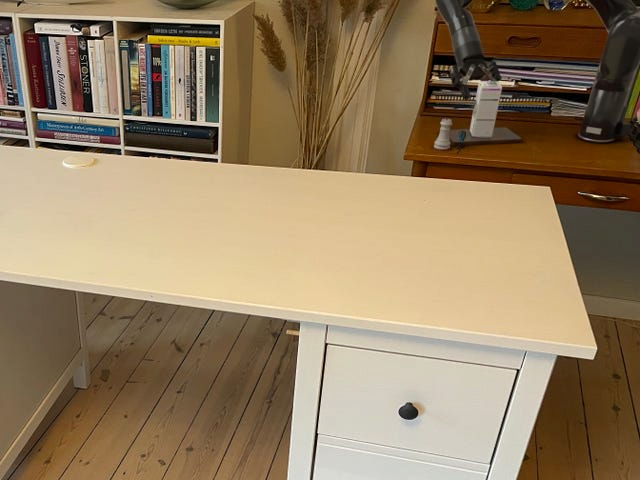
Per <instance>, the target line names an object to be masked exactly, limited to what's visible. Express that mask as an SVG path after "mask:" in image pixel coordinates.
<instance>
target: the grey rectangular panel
mask: <svg viewBox="0 0 640 480" xmlns="http://www.w3.org/2000/svg"><path fill="white" fill-rule="evenodd" d="M461 130H465V132H466V137H465V139H464V141H463V142H458V140H457V139H458V135H459V134H458V133H459V131H461ZM469 130H470V128H462V129H461V128H460V129H450V130H449V141H450V145H452V146H454V147H455V146H470V145H471V146H474V145H475V146H476V145H494V144H495V145H496V144H497V145H498V144H515V143H516V144H519V143H522V142H523V138H522V137H521V136H519V135H518V134H516V133H515V132H513V131H512V130H510V129H509V128H508V127H506V126H502V127H494V129H493V134H492V137H472V136H471V133H470V131H469Z"/></svg>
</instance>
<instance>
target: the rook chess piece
mask: <svg viewBox="0 0 640 480" xmlns="http://www.w3.org/2000/svg"><path fill="white" fill-rule="evenodd" d="M452 121H453V120H452V119H450V118H442V119H441V121H440V123H439V124H440V128H439V129H440V130H439V134H438V137H437V138H436V140H435V141H434V144H433V148H434V149H435V150H438V151H447V150H449V149H450V148H451V146H450V145H451V143H450V141H449V130H451V126H452V125H453V122H452Z"/></svg>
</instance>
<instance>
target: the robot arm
mask: <svg viewBox="0 0 640 480" xmlns="http://www.w3.org/2000/svg"><path fill="white" fill-rule="evenodd" d="M473 1H474V0H435V6H436V8H437V11H438V12H439V14H440V16H441V18H442V20H443V21H444V23H445V24H446V26H447V28H448V32H449V35H450V40H451V47H452V51H453V55H454V59H455V61H456V64H454V65H452V66H451V68H450V69H449V76H450V81H451V86H452V88H453V89H456V88H458V89H459V90H460V94H461V98H462V99H463V101H468V100H469V99H470V98H471V97H472V96H471V92H470V89H469V85H468V82H472V81H498V82H500V80H501V79H502V76H501V73H500V71H499V67H498V64H497V62H496V61H494V60H493V61H491V62H490V63H488V62H486V61H485V53H484V52H485V51H484V48H483V45H482V42H481V38H480V34H479V32H478V30H477V27H476V24H475V19H474V17H473V14H472V12H471V11H469V10H467V8H468V7H469V6H470V5H471V4H472V2H473ZM584 1H585V2H586V3H588V5H589V6H591V8H593V9H594V10H595V12H596V13H597V15H598V17H599V18H600V20H601V22H602V24H603V25H604V27H605V29H606V32H607V34H608V35H607V37H606V40H605V43H604V48H603V51H602V54H601V58H600V60H599V64H598V67H597V69H596V74H595V77H594V80H593V85H592V88H591V92H590V93H589V98H588V101H587V104H586V107H585V111H584V115H583V118H582V120H581V121H582V122H581V125H580V128H579V132H578V133H577V137H578V138H579V139H580V140H582V141H586V142H590V143H595V144H596V143H597V144H607V143H612V142H614V141H615V142H616V141H618V139H621V140H622V138H624V137H627V136H629V135H630V131H631V128H632V123H630V122H628V121H626V120H625V116H626V114H627V111H628V106H627V105H626V103H627V100H628V97H629V94H630V91H631V87H632V84H633V82H634V79H635V76H636V72H637V70H638V68H639V65H640V9H639V8H638V7H637V5H636V4H635V3H634V2H633V1H632V0H584ZM460 74H461V75H462V77H460Z"/></svg>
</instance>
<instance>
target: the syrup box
mask: <svg viewBox="0 0 640 480" xmlns="http://www.w3.org/2000/svg"><path fill="white" fill-rule="evenodd" d="M502 90H503V86H502V84H501V83H500V81H490V80H489V81H480V80H478V85H477V91H476V94H475V100H474V105H473V110H472V114H471V121H470V124H469V125H470V126H469V129H470V130H469V131H470V133H471V136H472V137H492V134H493V129H494V128H495V124H496V120H497V115H498V110H499V105H500V99H501V95H502Z"/></svg>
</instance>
